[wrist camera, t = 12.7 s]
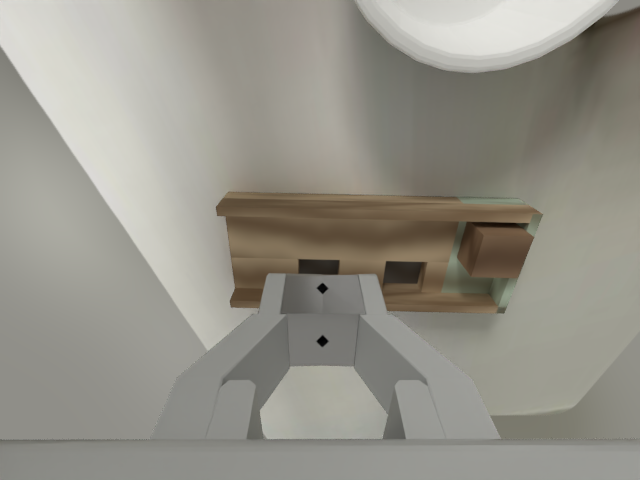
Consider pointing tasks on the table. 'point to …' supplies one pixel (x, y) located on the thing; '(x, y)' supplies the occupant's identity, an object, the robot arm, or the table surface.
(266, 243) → the trap lane
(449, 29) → the bowl
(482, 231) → the walnut block
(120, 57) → the table surface
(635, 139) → the table surface
